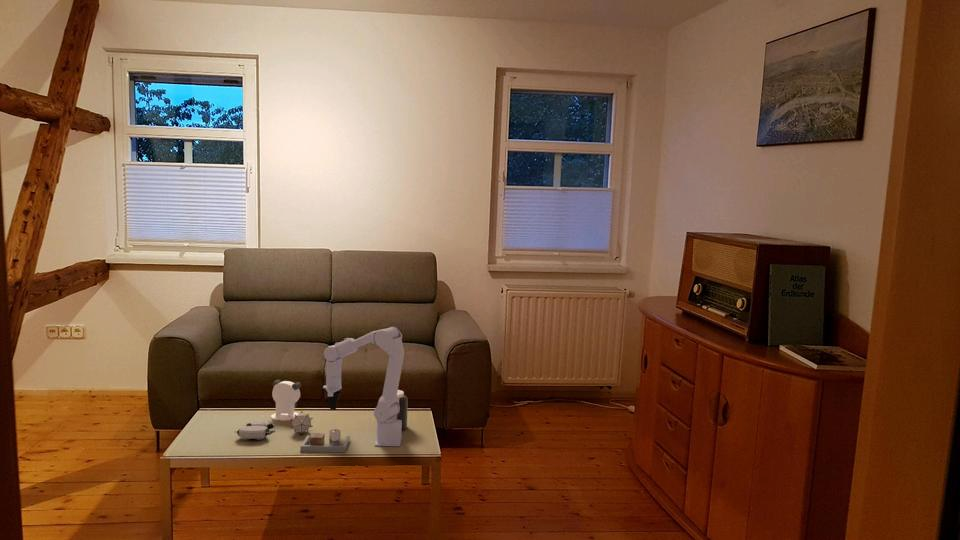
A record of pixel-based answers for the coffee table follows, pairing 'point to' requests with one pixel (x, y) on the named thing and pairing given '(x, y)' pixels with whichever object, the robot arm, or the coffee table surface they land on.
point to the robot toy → (255, 430)
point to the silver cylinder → (334, 437)
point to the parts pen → (323, 446)
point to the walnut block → (317, 439)
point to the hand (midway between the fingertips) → (333, 409)
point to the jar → (402, 409)
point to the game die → (301, 422)
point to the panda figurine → (285, 399)
